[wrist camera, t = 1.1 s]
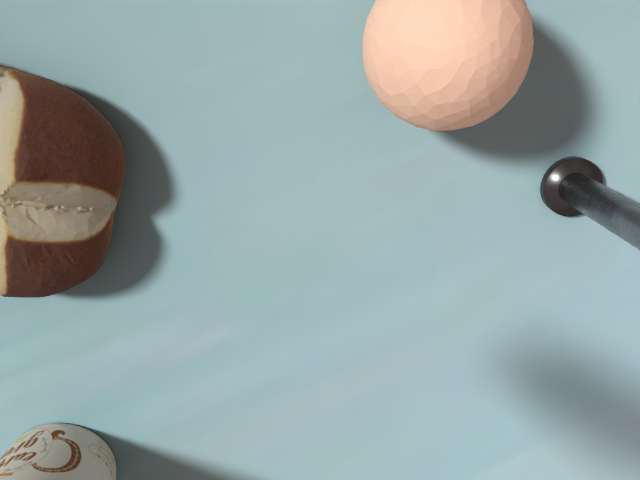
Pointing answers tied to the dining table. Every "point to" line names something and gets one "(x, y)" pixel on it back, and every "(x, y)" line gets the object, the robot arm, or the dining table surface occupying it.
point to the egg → (447, 58)
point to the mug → (58, 455)
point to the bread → (53, 186)
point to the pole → (590, 198)
